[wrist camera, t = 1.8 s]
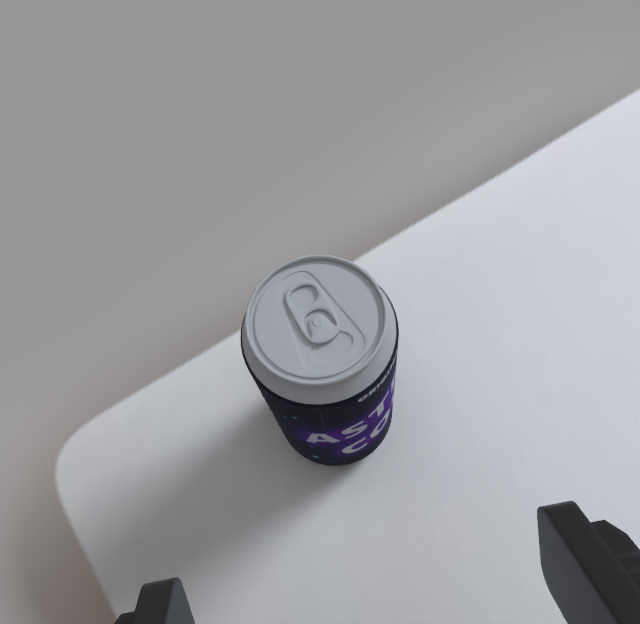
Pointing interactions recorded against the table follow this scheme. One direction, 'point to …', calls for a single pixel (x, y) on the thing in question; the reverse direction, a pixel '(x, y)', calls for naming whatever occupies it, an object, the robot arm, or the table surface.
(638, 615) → the robot arm
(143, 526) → the table surface
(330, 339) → the beverage can
